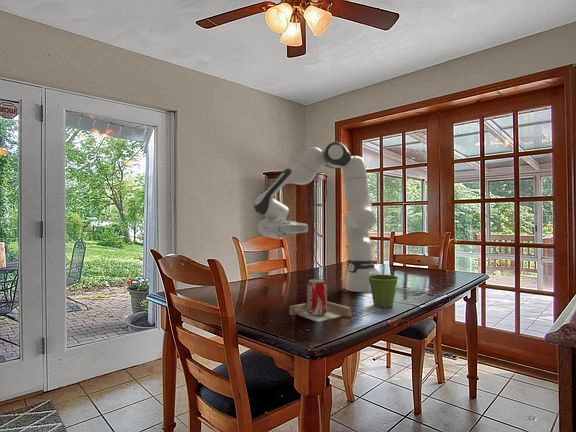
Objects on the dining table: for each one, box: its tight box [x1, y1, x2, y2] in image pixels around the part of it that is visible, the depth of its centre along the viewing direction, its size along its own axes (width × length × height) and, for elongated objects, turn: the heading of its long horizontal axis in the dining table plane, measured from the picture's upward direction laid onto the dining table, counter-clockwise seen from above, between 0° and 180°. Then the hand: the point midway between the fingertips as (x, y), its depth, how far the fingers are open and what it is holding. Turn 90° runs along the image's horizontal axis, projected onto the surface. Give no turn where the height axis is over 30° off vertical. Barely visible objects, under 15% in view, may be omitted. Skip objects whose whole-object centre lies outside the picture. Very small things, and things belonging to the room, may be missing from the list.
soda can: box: [306, 278, 328, 316], centre depth 126 cm, size 7×7×12 cm
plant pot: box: [367, 273, 399, 309], centre depth 138 cm, size 12×12×11 cm
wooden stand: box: [289, 300, 352, 323], centre depth 126 cm, size 16×16×3 cm
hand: (297, 228), depth 154 cm, fingers open, 8 cm apart
